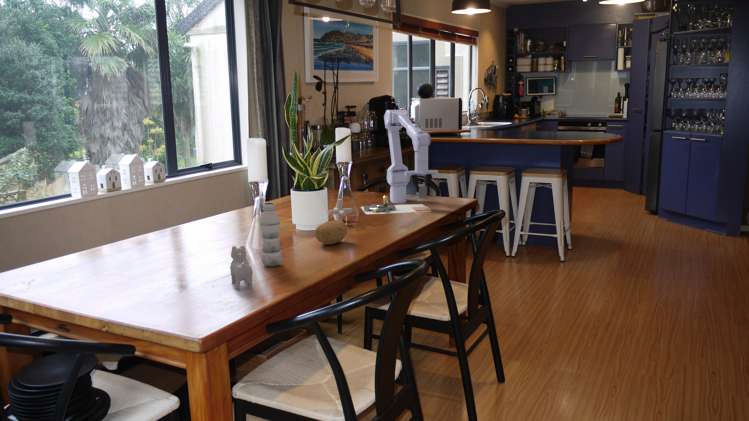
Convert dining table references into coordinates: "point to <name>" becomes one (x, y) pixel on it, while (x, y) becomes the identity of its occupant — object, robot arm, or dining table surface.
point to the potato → (331, 232)
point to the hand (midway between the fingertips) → (421, 191)
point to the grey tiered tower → (270, 236)
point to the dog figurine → (240, 267)
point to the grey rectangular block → (422, 191)
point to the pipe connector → (339, 210)
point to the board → (404, 209)
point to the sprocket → (380, 207)
